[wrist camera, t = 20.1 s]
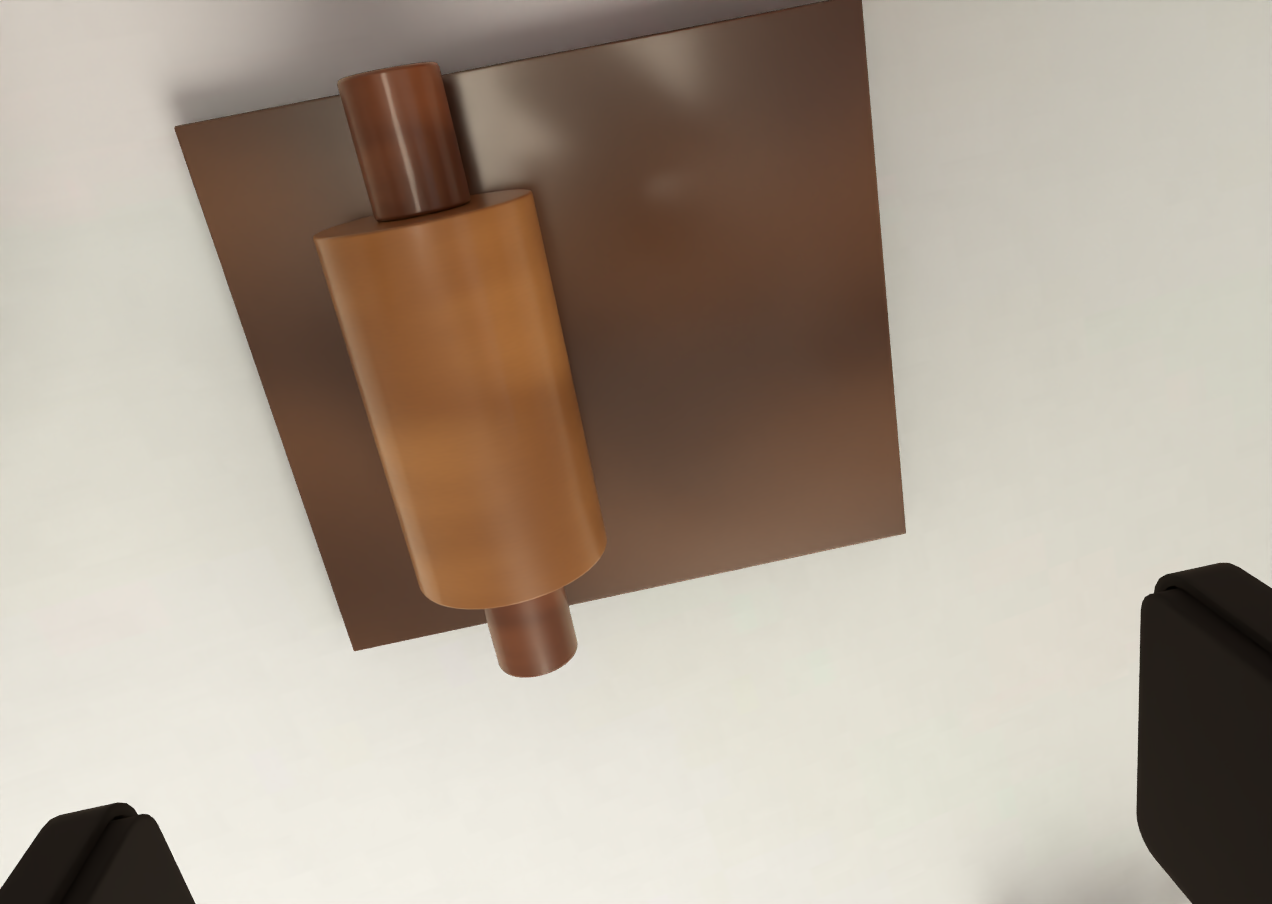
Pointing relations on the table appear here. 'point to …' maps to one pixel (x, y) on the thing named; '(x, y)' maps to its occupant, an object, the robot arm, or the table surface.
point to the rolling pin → (463, 373)
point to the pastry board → (613, 298)
